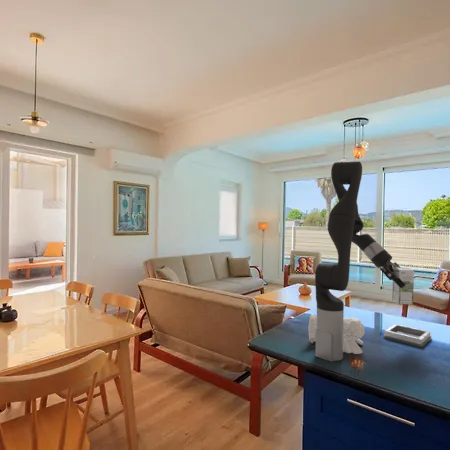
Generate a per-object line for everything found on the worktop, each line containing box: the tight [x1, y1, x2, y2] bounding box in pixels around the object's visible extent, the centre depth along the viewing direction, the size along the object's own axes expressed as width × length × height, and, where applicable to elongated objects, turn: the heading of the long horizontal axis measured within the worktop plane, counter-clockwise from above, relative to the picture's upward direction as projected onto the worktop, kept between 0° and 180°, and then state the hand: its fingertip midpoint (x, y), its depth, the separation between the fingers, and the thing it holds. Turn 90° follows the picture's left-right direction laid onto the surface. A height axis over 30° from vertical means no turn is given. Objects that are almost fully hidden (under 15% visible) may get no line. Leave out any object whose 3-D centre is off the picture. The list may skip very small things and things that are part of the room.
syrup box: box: [392, 267, 415, 306], centre depth 125 cm, size 6×6×14 cm
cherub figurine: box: [307, 313, 366, 355], centre depth 120 cm, size 13×12×20 cm
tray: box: [383, 323, 432, 348], centre depth 128 cm, size 14×14×3 cm
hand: (406, 285), depth 124 cm, fingers closed on syrup box, 8 cm apart
